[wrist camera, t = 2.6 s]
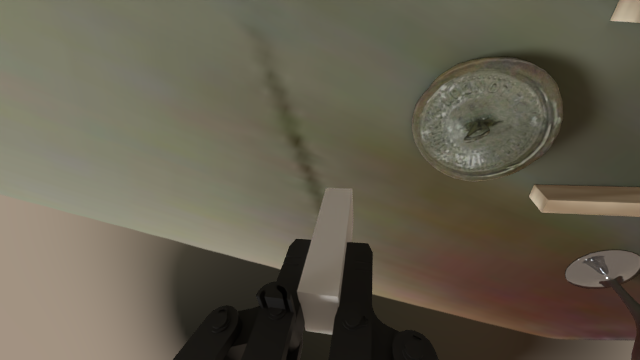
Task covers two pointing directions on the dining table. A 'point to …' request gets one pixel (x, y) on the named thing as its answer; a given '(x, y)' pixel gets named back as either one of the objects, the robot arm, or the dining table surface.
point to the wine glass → (609, 279)
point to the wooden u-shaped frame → (633, 6)
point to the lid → (487, 118)
